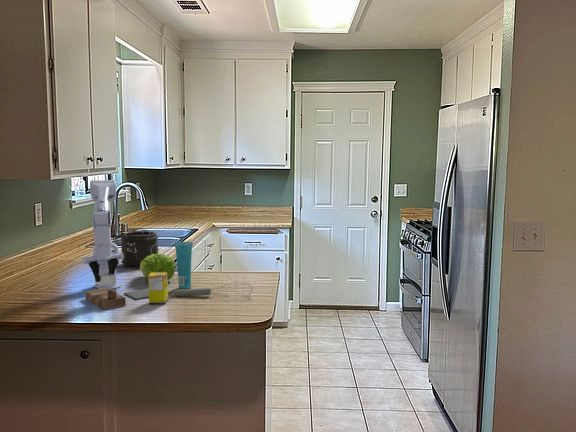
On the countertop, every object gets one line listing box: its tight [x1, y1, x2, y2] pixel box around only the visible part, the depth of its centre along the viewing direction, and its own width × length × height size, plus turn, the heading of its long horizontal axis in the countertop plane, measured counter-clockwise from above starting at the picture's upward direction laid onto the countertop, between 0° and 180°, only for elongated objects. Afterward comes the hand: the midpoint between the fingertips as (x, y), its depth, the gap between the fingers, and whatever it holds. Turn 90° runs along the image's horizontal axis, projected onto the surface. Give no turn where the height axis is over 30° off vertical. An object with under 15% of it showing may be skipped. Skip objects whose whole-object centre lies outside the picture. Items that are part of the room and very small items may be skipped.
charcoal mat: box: [123, 288, 149, 301], centre depth 203 cm, size 11×10×1 cm
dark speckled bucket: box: [120, 230, 159, 269], centre depth 259 cm, size 18×18×16 cm
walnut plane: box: [84, 288, 127, 311], centre depth 193 cm, size 18×8×6 cm, turn 40°
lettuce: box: [139, 253, 176, 281], centre depth 228 cm, size 13×22×14 cm
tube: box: [174, 240, 194, 290], centre depth 213 cm, size 7×5×19 cm, turn 89°
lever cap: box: [94, 272, 114, 286], centre depth 192 cm, size 7×4×4 cm, turn 40°
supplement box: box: [147, 272, 169, 306], centre depth 192 cm, size 6×6×11 cm
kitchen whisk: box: [168, 281, 254, 299], centre depth 201 cm, size 6×33×6 cm, turn 88°
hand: (104, 280), depth 192 cm, fingers closed on lever cap, 4 cm apart
